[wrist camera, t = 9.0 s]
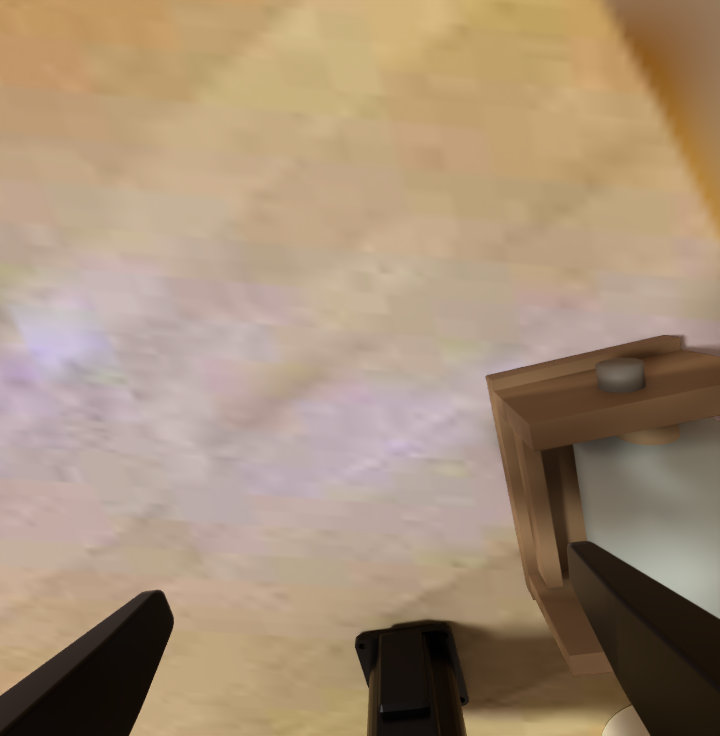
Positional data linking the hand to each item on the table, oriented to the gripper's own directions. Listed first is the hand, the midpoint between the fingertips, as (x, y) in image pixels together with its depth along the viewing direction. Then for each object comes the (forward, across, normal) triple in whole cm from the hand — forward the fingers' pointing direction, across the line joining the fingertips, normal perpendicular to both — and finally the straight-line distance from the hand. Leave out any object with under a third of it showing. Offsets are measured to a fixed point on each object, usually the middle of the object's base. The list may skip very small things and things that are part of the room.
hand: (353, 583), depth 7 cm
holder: (+12, -11, +6) cm, 18 cm away
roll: (+11, -11, +6) cm, 17 cm away
